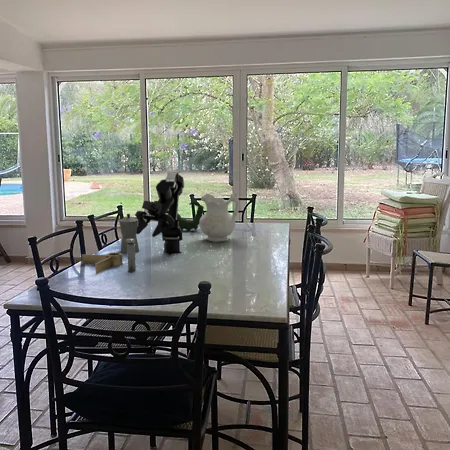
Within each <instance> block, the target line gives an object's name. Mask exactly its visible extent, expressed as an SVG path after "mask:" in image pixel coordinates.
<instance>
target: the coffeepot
mask: <svg viewBox="0 0 450 450" xmlns="http://www.w3.org/2000/svg"><path fill="white" fill-rule="evenodd" d="M118 222H119V227H120V233H121V245H120V246H121V247H120V253H121V254H127V243H126V239H136V242H135V253H138V252H140V247H139V243H138V237H137V235H138V234H137V233H136V232H137V227H138V219H137V218H133V217H131V214H130V213H127V214H126V217H125V216H122V217H121V218H120V219H119V220H118Z"/></svg>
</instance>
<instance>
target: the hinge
mask: <svg viewBox="0 0 450 450" xmlns="http://www.w3.org/2000/svg"><path fill="white" fill-rule="evenodd" d="M81 261H82V265H95V267H94V268H95V274H99V273H102V272H104V271H106V270H108V269H110V268H111V267H120V266H122V265H124V264H123V253H122V252H116V251H115V252H108V253H107V254H84V253H83V254H81Z"/></svg>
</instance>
